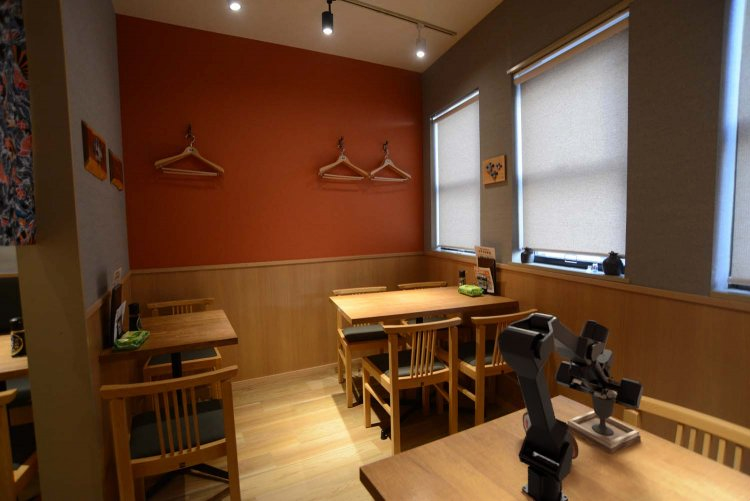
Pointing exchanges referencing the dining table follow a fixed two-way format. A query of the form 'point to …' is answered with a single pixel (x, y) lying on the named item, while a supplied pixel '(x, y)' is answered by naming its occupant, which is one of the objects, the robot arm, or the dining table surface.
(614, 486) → the dining table surface
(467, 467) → the dining table surface
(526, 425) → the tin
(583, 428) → the board
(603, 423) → the sundae
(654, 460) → the dining table surface
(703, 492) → the dining table surface
